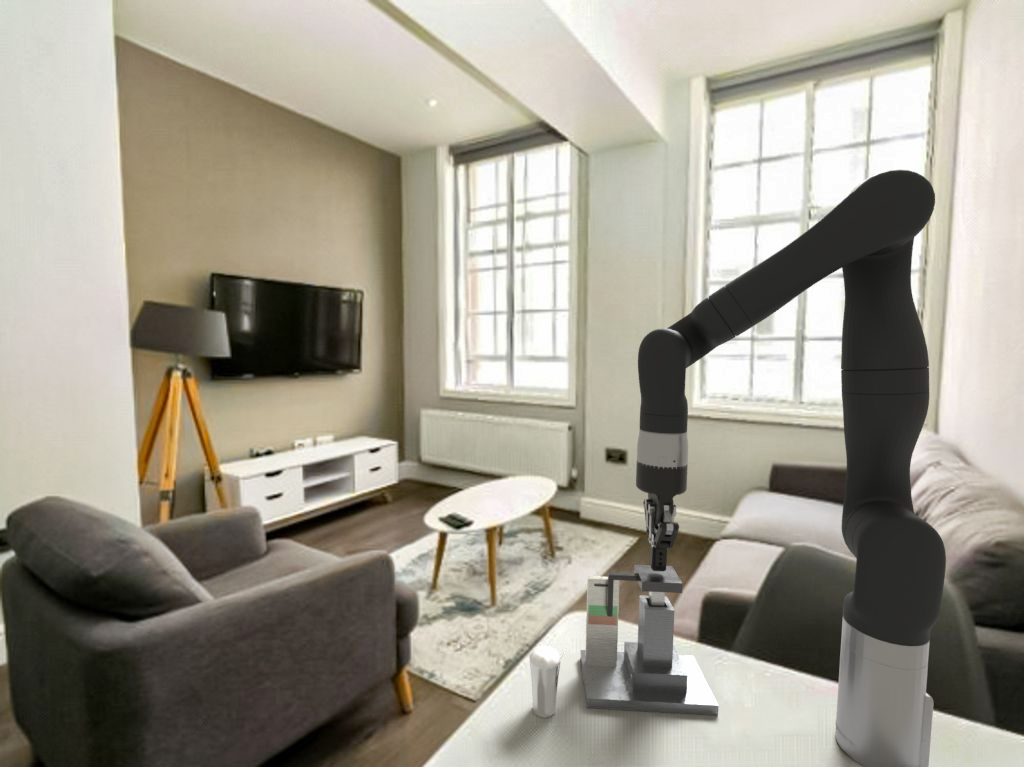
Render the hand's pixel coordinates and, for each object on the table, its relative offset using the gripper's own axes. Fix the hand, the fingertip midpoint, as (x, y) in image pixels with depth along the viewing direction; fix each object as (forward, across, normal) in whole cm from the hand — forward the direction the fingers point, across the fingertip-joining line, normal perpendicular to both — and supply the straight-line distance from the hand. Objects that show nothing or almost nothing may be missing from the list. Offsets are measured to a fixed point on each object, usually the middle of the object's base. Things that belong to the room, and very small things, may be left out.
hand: (657, 568), depth 78 cm
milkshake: (+19, -7, +17) cm, 27 cm away
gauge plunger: (+12, 0, +2) cm, 12 cm away
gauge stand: (+19, 0, +2) cm, 19 cm away
